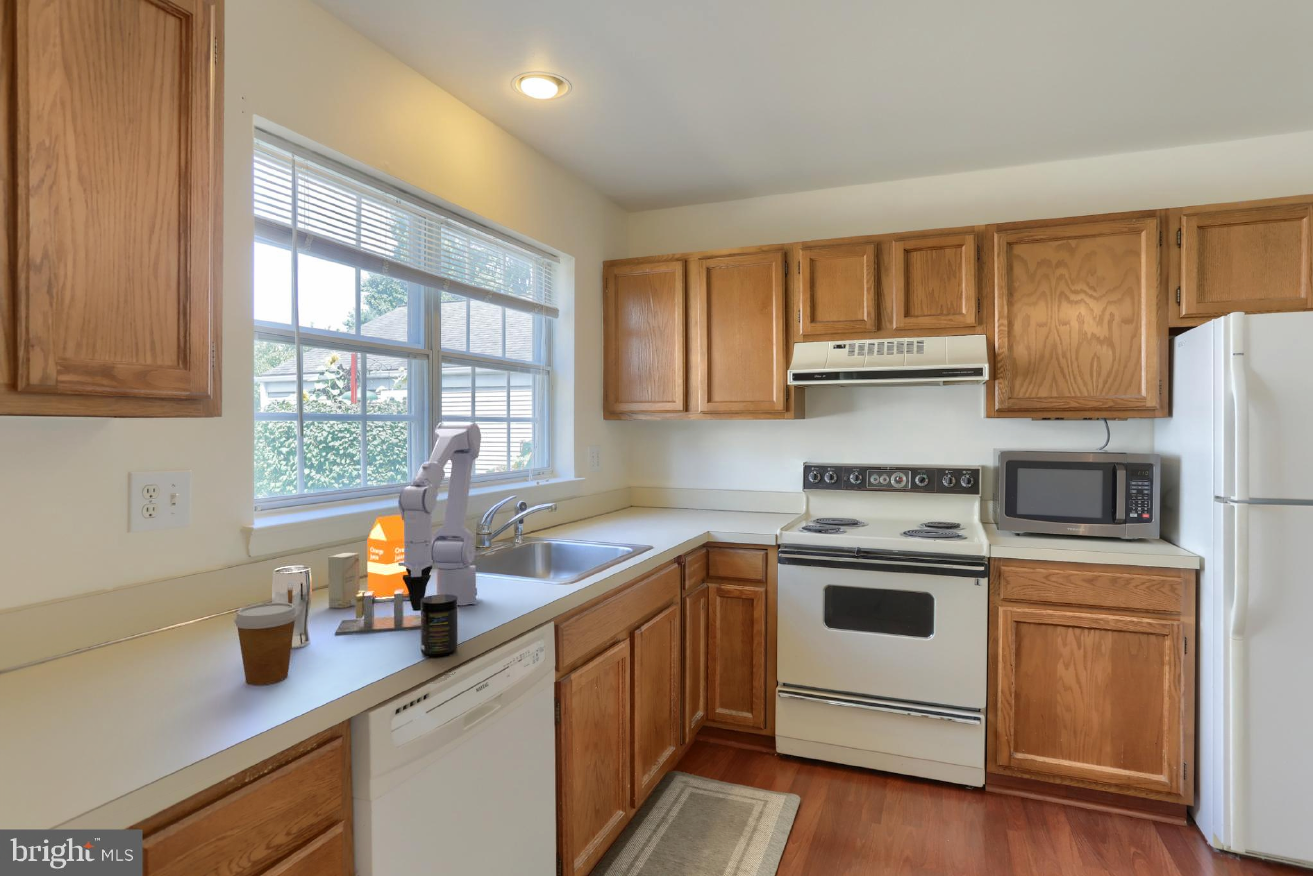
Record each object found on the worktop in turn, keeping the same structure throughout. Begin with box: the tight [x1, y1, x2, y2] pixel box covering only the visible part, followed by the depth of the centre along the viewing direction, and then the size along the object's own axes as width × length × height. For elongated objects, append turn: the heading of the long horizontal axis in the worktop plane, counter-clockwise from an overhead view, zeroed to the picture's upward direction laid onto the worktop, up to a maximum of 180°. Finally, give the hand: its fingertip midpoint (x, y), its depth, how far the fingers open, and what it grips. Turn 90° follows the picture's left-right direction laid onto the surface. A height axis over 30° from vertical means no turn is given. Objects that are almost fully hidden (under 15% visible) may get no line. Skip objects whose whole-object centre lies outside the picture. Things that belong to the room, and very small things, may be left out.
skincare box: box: [327, 552, 361, 609], centre depth 167 cm, size 6×4×12 cm
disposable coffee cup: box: [233, 602, 298, 686], centre depth 119 cm, size 10×10×12 cm
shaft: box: [351, 595, 421, 612], centre depth 150 cm, size 15×2×6 cm, turn 106°
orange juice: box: [366, 514, 409, 598], centre depth 178 cm, size 8×9×20 cm
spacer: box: [355, 590, 366, 619], centre depth 149 cm, size 1×5×5 cm, turn 16°
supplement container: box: [420, 594, 459, 659], centre depth 132 cm, size 7×7×10 cm
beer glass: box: [271, 565, 313, 650], centre depth 137 cm, size 7×7×15 cm
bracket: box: [334, 589, 421, 636], centre depth 150 cm, size 18×9×7 cm, turn 106°
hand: (418, 603), depth 152 cm, fingers open, 7 cm apart
